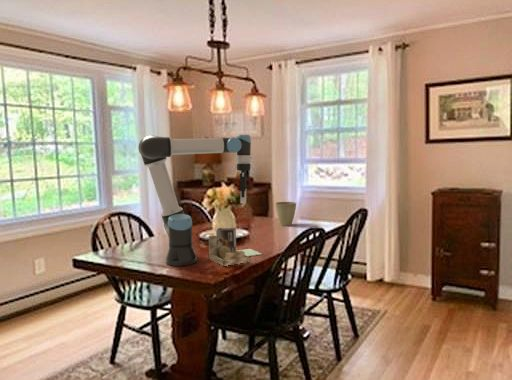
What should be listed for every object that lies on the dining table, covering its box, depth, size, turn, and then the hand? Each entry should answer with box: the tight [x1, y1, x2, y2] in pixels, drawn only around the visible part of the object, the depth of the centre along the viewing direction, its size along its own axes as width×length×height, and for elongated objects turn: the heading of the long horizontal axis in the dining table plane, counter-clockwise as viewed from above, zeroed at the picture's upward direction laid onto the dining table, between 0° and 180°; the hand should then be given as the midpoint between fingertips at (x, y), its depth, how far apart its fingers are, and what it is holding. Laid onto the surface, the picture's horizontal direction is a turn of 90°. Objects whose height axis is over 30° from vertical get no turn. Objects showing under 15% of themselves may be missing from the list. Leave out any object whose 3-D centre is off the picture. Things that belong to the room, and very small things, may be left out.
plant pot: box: [275, 201, 297, 227], centre depth 314 cm, size 15×15×16 cm
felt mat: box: [237, 248, 262, 257], centre depth 235 cm, size 12×13×1 cm
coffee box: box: [215, 227, 237, 259], centre depth 222 cm, size 9×6×16 cm
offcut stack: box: [222, 250, 245, 260], centre depth 216 cm, size 11×4×5 cm, turn 120°
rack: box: [208, 234, 250, 267], centre depth 221 cm, size 14×17×12 cm
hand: (243, 201), depth 242 cm, fingers open, 13 cm apart
